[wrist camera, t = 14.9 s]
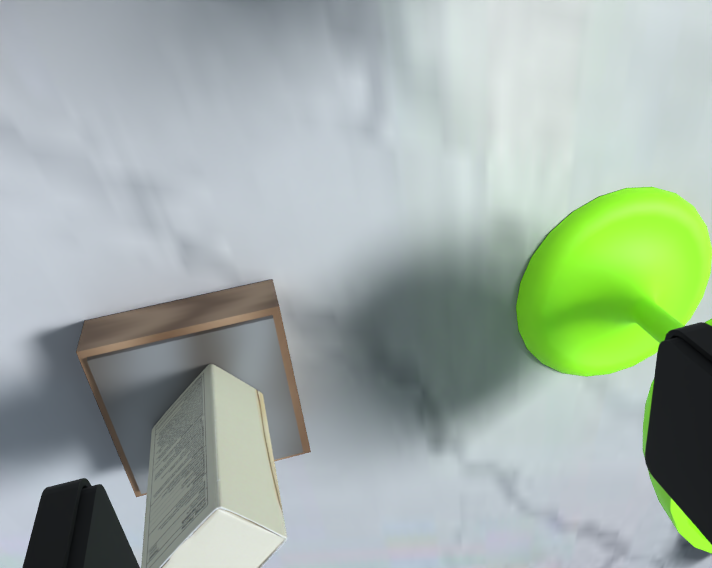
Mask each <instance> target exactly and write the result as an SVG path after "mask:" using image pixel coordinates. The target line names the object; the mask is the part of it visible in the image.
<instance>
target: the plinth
mask: <svg viewBox="0 0 712 568" xmlns="http://www.w3.org/2000/svg"><path fill="white" fill-rule="evenodd" d="M76 353H77V355H78V358H79V360H80V363H81V365H82V368H83V370H84V372H85V375H86V377H87V380H88V382H89V384H90V387H91V389H92V392H93V394H94V396H95V399H96V401H97V404H98V406H99V409H100V411H101V413H102V416H103V418H104V421H105V423H106V425H107V428H108V430H109V433H110V435H111V437H112V440H113V442H114V445H115V447H116V449H117V452H118V454H119V457H120V459H121V462H122V464H123V466H124V469H125V471H126V474H127V476H128V478H129V481H130V483H131V486H132V488H133V490H134V493H135V495H136V497H139V496H143V495H146V494H147V486H148V473H149V460H150V447H151V433H152V428H153V427H154V426H155V425H156V423H157V422H158V421H159V420H160V419H161V417H162V416H163V415H164V414H165V412H166V411H167V410H168V409H169V408H170V407H171V406H172V405H173V403H174V402H175V401H176V400H177V399H178V398H179V397H180V395H181V394H182V393H183V392H184V391H185V390H186V389H187V388H188V386H189V385H190V384H191V383H192V382H193V381H194V380H195V379H196V378H197V377H198V375H200V373H201V372H202V371H203V370H204V369H205V368H206V367H207V366H208V365H209V364H214V365H215V366H217V367H219V368H221V369H222V370H224V371H226V372H228V373H229V374H231V375H233V376H234V377H236V378H238V379H240V380H241V381H243V382H245V383H246V384H248V385H250V386H251V387H253V388H255V389H256V390H258V391H260V392H261V393H262V394H263V398H264V404H265V410H266V416H267V421H268V428H269V434H270V439H271V445H272V451H273V457H274V461H278V460H281V459H285V458H289V457H293V456H297V455H301V454H305V453H309V452H311V451H310V446H309V442H308V437H307V432H306V428H305V423H304V418H303V414H302V409H301V405H300V400H299V395H298V391H297V386H296V382H295V377H294V372H293V368H292V363H291V359H290V354H289V349H288V345H287V340H286V336H285V331H284V326H283V322H282V317H281V313H280V308H279V304H278V300H277V296H276V292H275V288H274V284H273V280H267V281H263V282H258V283H254V284H249V285H244V286H240V287H235V288H231V289H226V290H222V291H217V292H213V293H208V294H204V295H199V296H195V297H190V298H185V299H181V300H176V301H172V302H167V303H163V304H158V305H154V306H149V307H145V308H140V309H136V310H131V311H127V312H122V313H117V314H113V315H108V316H104V317H99V318H95V319H90V320H86V321H84V324H83V328H82V332H81V336H80V339H79V343H78V347H77V351H76Z"/></svg>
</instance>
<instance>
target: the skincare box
mask: <svg viewBox="0 0 712 568" xmlns="http://www.w3.org/2000/svg"><path fill="white" fill-rule="evenodd" d="M286 540H287V535H286V529H285V523H284V518H283V511H282V505H281V499H280V493H279V487H278V481H277V475H276V469H275V463H274V457H273V451H272V445H271V439H270V434H269V428H268V421H267V416H266V410H265V404H264V398H263V394H262V393H261V392H260V391H258V390H256V389H255V388H253V387H251V386H250V385H248V384H246V383H245V382H243V381H241V380H240V379H238V378H236V377H234V376H233V375H231V374H229V373H228V372H226V371H224V370H222V369H221V368H219V367H217V366H215V365H214V364H209V365H208V366H207V367H206V368H205V369H204V370H203V371H202V372H201V373H200V375H198V377H197V378H196V379H195V380H194V381H193V382H192V383H191V384H190V385H189V386H188V388H187V389H186V390H185V391H184V392H183V393H182V394H181V395H180V397H179V398H178V399H177V400H176V401H175V402H174V403H173V405H172V406H171V407H170V408H169V409H168V410H167V411H166V412H165V414H164V415H163V416H162V417H161V419H160V420H159V421H158V422H157V423H156V425H155V426H154V427H153V428H152V433H151V447H150V460H149V473H148V486H147V499H146V513H145V525H144V539H143V552H142V565H141V568H261V567H262V566H263V565H264V564H265V563H266V562H267V561H268V560H269V559H270V558H271V557H272V556H273V555H274V554H275V552H276V551H277V550H278V549H279V548H280V547H281V546H282V545H283V544H284V543H285V542H286Z"/></svg>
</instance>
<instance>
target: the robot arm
mask: <svg viewBox="0 0 712 568" xmlns="http://www.w3.org/2000/svg"><path fill="white" fill-rule="evenodd" d="M645 461H646V465H647V468H648V470H649V472H650V473H651V475H652V476H653V478H654V479H655V480H656V481H657V482H658V483H659V484H660V486H661V487H662V488H663V489H664V490H665V491H666V493H667V494H668V495H669V496H670V497H671V498H672V500H673V501H674V502H675V503H676V504H677V505H678V506H679V508H680V509H681V510H682V511H683V512H684V513H685V515H686V516H687V517H688V518H689V519H690V520H691V521H692V523H693V524H694V525H695V526H696V527H697V528H698V530H699V531H700V532H701V533H702V534H703V535H704V537H705V538H706V539H707V540H708V541H709V542H710V543H711V545H712V326H711V325H709V324H707V323H702V322H701V323H697V324H693V325H689V326H685V327H681V328H677V329H673V330H670V331H669V332H668V333H667V334H666V337H665V340H664V341H662V342H661V343H660V344H659V347H658V353H657V361H656V369H655V377H654V385H653V393H652V401H651V409H650V417H649V425H648V433H647V441H646V449H645ZM23 568H140V567H139V565H138V563H137V560H136V558H135V556H134V554H133V551H132V549H131V547H130V545H129V542H128V540H127V538H126V536H125V533H124V531H123V529H122V527H121V525H120V522H119V520H118V518H117V516H116V513H115V511H114V509H113V507H112V504H111V502H110V500H109V498H108V495H107V493H106V491H105V489H104V487H103V486H102V485H101V484H98V485H94V486H91V484H90V483H89V481H88V480H87V479H86V478H83V479H79V480H75V481H71V482H67V483H63V484H59V485H55V486H51V487H47V488H46V489H45V490H44V491H43V493H42V496H41V499H40V503H39V507H38V511H37V514H36V518H35V522H34V526H33V530H32V534H31V537H30V541H29V545H28V549H27V553H26V557H25V560H24V564H23Z"/></svg>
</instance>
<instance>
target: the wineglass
mask: <svg viewBox="0 0 712 568" xmlns="http://www.w3.org/2000/svg"><path fill="white" fill-rule="evenodd" d="M711 259H712V247H711V242H710V238H709V234H708V229H707V226H706V224H705V223H704V221H703V220H702V218H701V217H700V215H699V214H698V212H697V211H696V209H695V207H694V206H693V205H691V204H690V203H688V202H687V201H686V200H684V199H683V198H681V197H680V196H679V195H677V194H676V193H673V192H669V191H665V190H662V189H658V188H654V187H642V188H625V189H622V190H619V191H616V192H612V193H609V194H606V195H603V196H599V197H598V198H596V199H594V200H592V201H591V202H589V203H587V204H585V205H584V206H582V207H580V208H578V209H577V210H575V211H573V212H572V213H571V214H570V215H569V216H567V217H566V218H565V219H564V220H563V221H562V222H561V223H560V224H559V225H557V226H556V227H555V228H554V229H553V230H552V231H551V232H550V233H549V234H548V235H547V237H546V238H545V239H544V241H543V242H542V244H541V245H540V246H539V248H538V249H537V250H536V252H535V253H534V254H533V256H532V257H531V260H530V262H529V264H528V266H527V269H526V271H525V273H524V275H523V278H522V280H521V282H520V287H519V293H518V299H517V304H516V312H517V322H518V330H519V332H520V334H521V337H522V339H523V341H524V343H525V345H526V347H527V349H528V350H529V351H530V352H531V353H532V354H533V355H534V356H535V357H536V358H537V359H538V360H539V361H540V362H541V363H542V364H544V365H546V366H548V367H551V368H553V369H555V370H557V371H559V372H561V373H565V374H572V375H579V376H595V375H604V374H611V373H614V372H617V371H620V370H623V369H626V368H629V367H632V366H634V365H636V364H637V363H639V362H641V361H643V360H645V359H646V358H648V357H650V356H652V355H653V354H655V353H656V352H657V351H658V347H659V344H660V343H661V342H662V341H664V340H665V337H666V334H667V333H668V332H669V331H670V330H673V329H677V328H681V327H685V324H686V323H687V322H688V321H689V320H690V318H691V317H692V315H693V313H694V312H695V310H696V308H697V306H698V305H699V303H700V301H701V299H702V298H703V295H704V292H705V289H706V286H707V283H708V280H709V277H710V274H711ZM705 323H707V324H709V325H711V326H712V319H710V320H708V321H707V322H705ZM653 385H654V380H653V382H652V384H651V387H650V391H649V394H648V397H647V400H646V404H645V413H644V422H643V453H644V456H645V449H646V441H647V433H648V425H649V417H650V409H651V401H652V393H653ZM648 471H649V470H648ZM649 475H650V479H651V482H652V484H653V487H654V490H655V492H656V495H657V497H658V500H659V502H660V503H661V505H662V507H663V508H664V510H665V511H666V513H667V515H668V516H669V518H670V519H671V521H672V523H673V524H674V526H675V527H676V529H677V531H678V532H679V533H680V534H681V535H682V536H683V537H684V538H685V539H686V540H687V541H688V542H689V543H691V544H692V545H693V546H694V547H695V548H698V549H701V550H704V551H706V552H709V553H712V545H711V543H710V542H709V541H708V540H707V539H706V538H705V537H704V535H703V534H702V533H701V532H700V531H699V530H698V528H697V527H696V526H695V525H694V524H693V523H692V521H691V520H690V519H689V518H688V517H687V516H686V515H685V513H684V512H683V511H682V510H681V509H680V508H679V506H678V505H677V504H676V503H675V502H674V501H673V500H672V498H671V497H670V496H669V495H668V494H667V493H666V491H665V490H664V489H663V488H662V487H661V486H660V484H659V483H658V482H657V481H656V480H655V479H654V478H653V476H652V475H651V473H650V472H649Z"/></svg>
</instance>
